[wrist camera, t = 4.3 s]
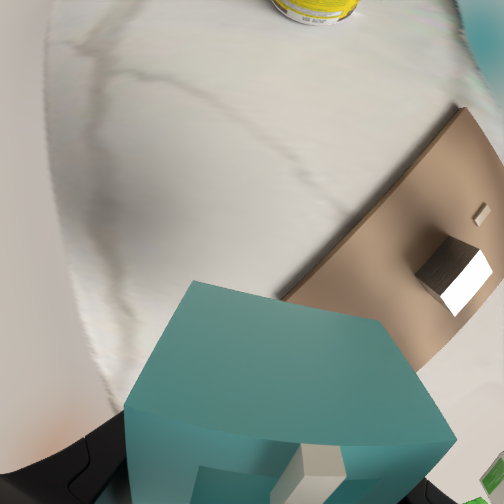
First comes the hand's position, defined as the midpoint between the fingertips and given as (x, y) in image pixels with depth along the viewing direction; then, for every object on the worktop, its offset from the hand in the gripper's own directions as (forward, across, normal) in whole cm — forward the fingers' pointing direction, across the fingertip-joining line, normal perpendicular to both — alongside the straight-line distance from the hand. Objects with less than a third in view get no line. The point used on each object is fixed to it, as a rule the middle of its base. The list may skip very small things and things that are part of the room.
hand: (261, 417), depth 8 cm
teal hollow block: (+1, 0, 0) cm, 1 cm away
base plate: (+11, -11, -4) cm, 16 cm away
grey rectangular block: (+11, -11, -4) cm, 16 cm away
